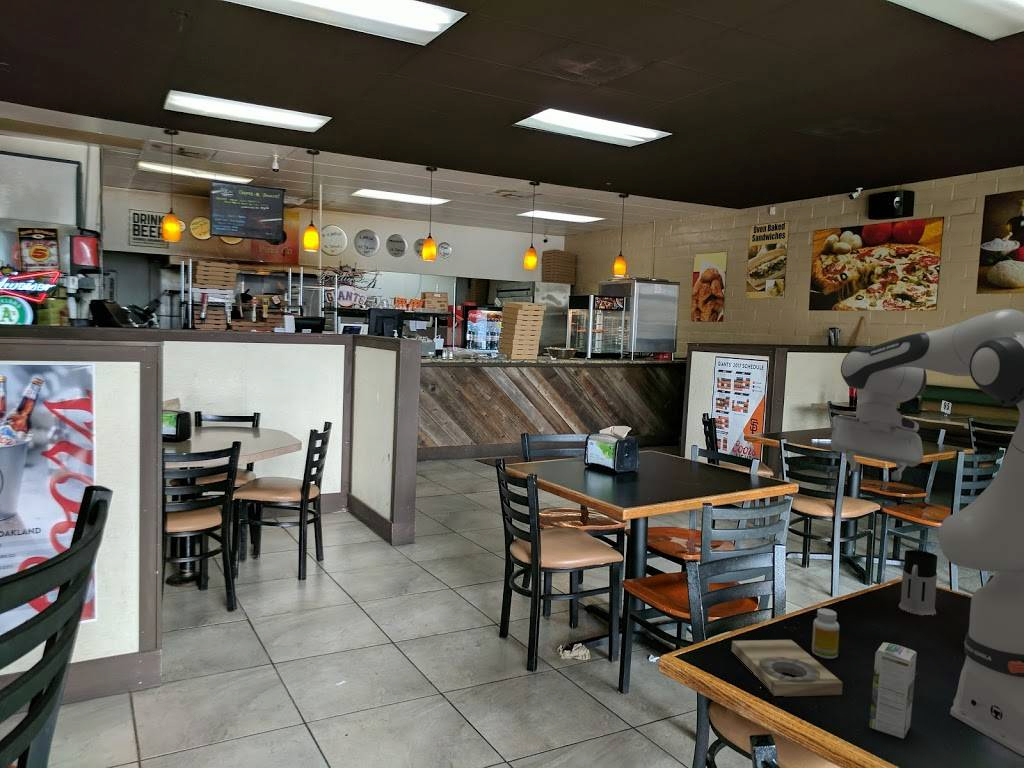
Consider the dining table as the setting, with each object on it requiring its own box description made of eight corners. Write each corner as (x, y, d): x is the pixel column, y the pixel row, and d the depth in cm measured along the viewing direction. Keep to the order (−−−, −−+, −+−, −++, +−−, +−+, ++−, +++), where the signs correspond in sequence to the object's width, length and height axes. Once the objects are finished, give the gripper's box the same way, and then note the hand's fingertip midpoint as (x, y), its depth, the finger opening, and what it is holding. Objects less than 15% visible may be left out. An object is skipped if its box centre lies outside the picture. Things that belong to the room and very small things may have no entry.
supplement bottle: (842, 659, 156) (844, 616, 155) (817, 658, 156) (820, 615, 155) (831, 649, 161) (834, 607, 160) (807, 648, 161) (810, 606, 160)
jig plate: (841, 694, 140) (842, 682, 139) (774, 696, 138) (775, 684, 138) (790, 650, 159) (791, 639, 159) (731, 651, 158) (732, 640, 158)
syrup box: (876, 715, 132) (881, 640, 131) (911, 727, 128) (917, 649, 127) (868, 728, 128) (873, 650, 127) (905, 740, 124) (911, 660, 123)
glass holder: (938, 609, 188) (942, 554, 187) (929, 624, 177) (933, 566, 176) (902, 600, 194) (905, 547, 193) (890, 615, 183) (894, 558, 182)
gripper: (837, 407, 169) (835, 461, 163) (926, 425, 167) (927, 480, 161) (827, 417, 174) (825, 470, 169) (912, 435, 172) (913, 488, 167)
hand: (875, 475), depth 165 cm, fingers open, 8 cm apart
